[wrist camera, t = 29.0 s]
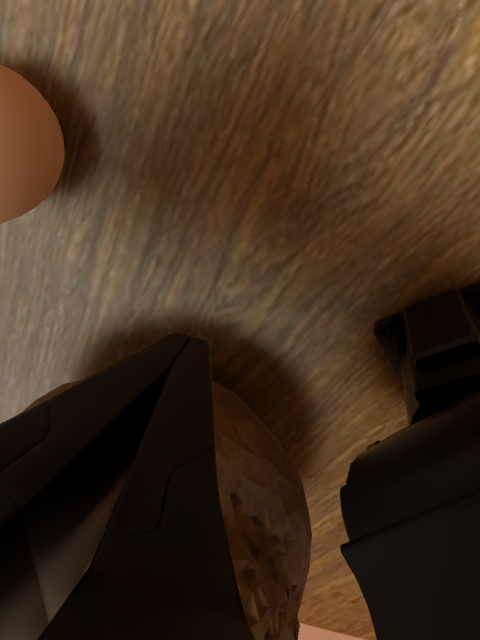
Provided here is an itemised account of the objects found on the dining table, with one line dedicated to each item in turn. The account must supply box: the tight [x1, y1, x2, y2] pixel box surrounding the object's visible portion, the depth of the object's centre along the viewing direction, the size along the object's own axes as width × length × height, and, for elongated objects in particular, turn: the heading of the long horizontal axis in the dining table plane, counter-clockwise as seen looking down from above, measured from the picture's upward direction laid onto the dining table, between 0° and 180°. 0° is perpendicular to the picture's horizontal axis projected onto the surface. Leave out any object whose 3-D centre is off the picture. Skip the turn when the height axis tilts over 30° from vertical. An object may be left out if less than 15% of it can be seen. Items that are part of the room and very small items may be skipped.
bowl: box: [20, 379, 312, 640], centre depth 24 cm, size 19×19×15 cm
